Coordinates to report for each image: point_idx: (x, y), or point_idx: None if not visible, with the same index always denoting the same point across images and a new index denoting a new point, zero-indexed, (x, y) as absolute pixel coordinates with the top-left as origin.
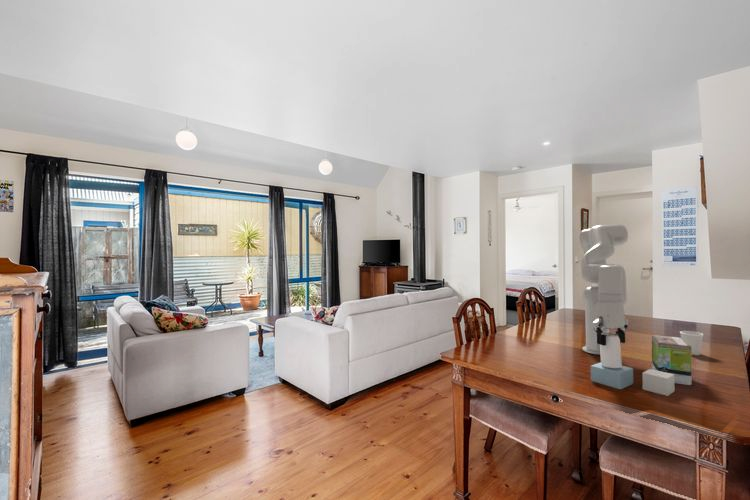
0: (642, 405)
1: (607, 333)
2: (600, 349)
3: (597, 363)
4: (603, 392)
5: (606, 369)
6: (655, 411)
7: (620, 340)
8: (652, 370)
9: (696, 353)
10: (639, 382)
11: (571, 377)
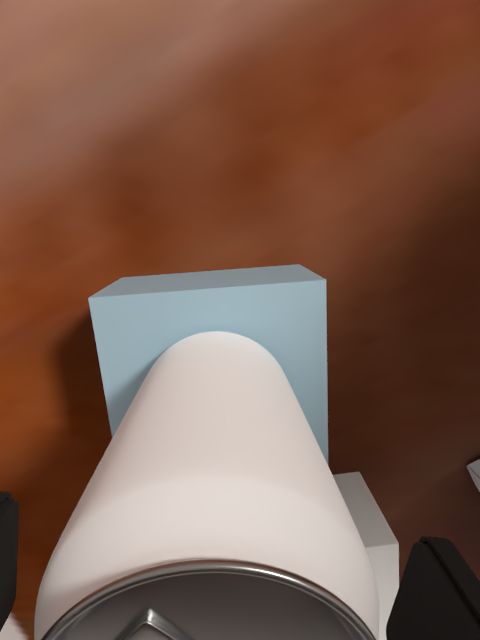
0: (36, 575)
1: (346, 615)
2: (130, 414)
3: (207, 291)
4: (9, 419)
5: (115, 413)
6: (25, 621)
7: (406, 627)
8: (375, 564)
9: None
10: (352, 429)
11: (53, 168)
